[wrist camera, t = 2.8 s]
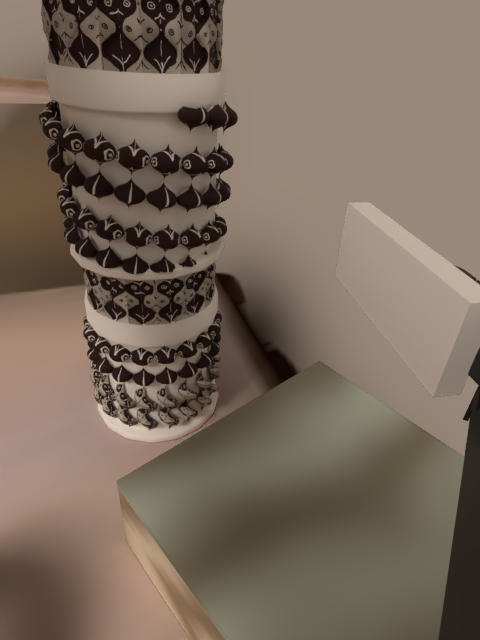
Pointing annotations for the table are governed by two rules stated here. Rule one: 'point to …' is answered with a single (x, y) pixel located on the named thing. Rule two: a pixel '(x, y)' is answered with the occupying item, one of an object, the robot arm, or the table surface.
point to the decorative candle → (143, 199)
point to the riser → (300, 519)
